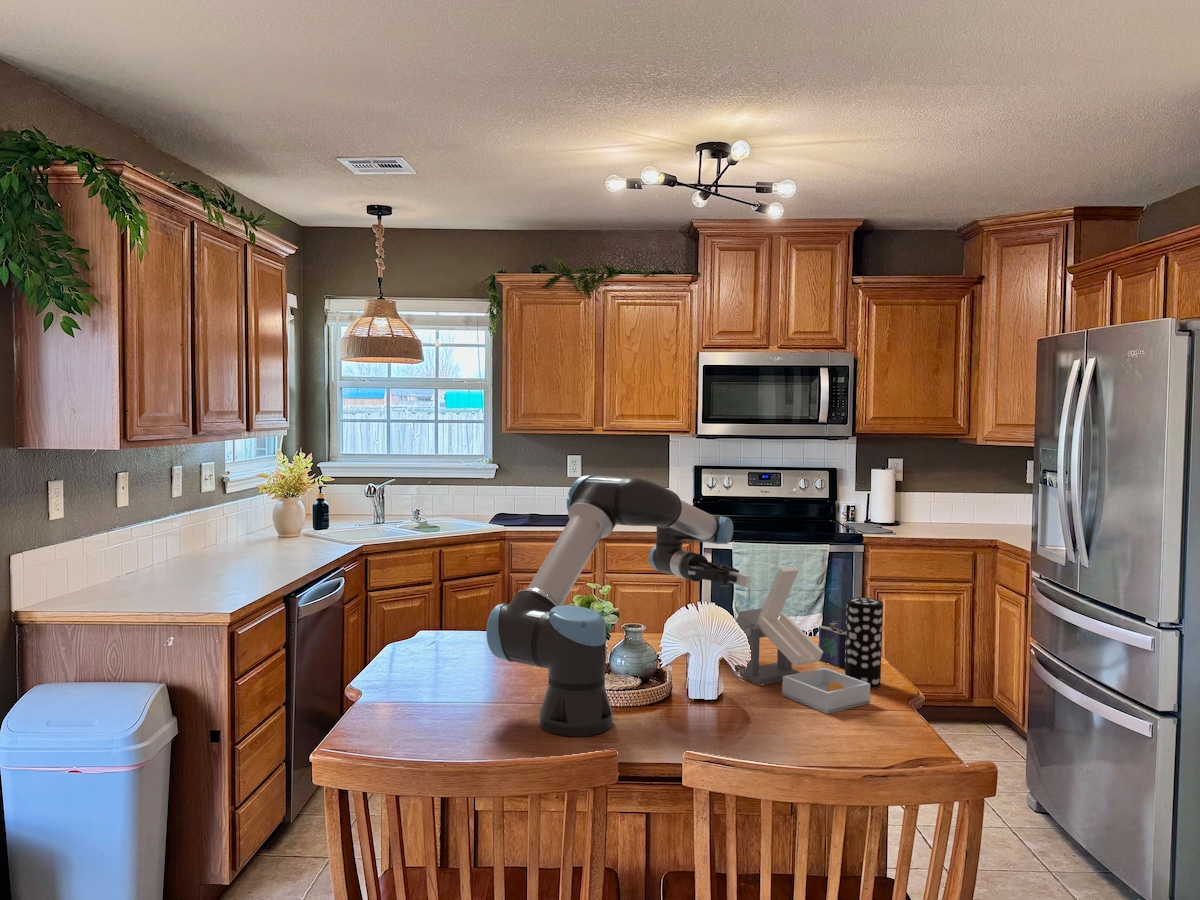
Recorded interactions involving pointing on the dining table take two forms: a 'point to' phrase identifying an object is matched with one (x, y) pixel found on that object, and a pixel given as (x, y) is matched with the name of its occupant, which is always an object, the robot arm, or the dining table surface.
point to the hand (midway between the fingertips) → (747, 581)
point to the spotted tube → (864, 640)
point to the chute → (781, 622)
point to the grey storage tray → (825, 690)
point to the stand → (766, 671)
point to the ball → (835, 686)
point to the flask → (832, 645)
